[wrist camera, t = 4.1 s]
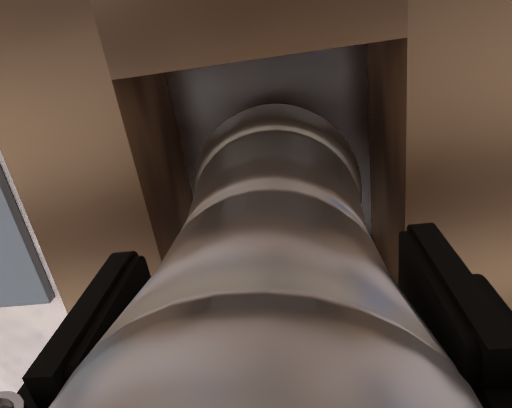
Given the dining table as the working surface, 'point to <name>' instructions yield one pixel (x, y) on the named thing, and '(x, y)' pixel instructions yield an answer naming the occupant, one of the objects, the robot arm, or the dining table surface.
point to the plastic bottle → (270, 291)
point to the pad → (18, 258)
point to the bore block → (236, 50)
